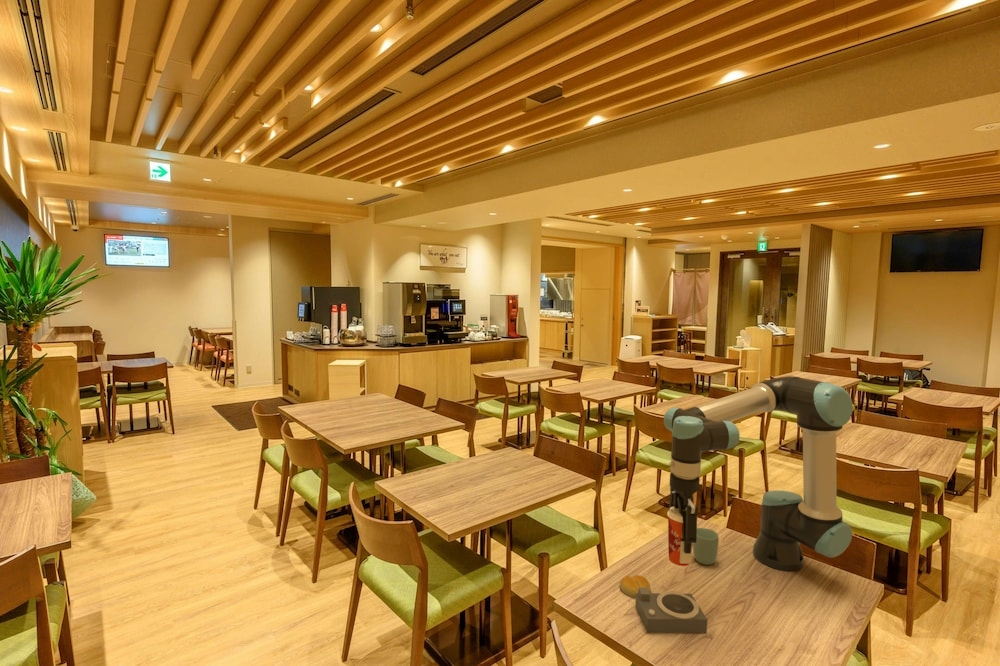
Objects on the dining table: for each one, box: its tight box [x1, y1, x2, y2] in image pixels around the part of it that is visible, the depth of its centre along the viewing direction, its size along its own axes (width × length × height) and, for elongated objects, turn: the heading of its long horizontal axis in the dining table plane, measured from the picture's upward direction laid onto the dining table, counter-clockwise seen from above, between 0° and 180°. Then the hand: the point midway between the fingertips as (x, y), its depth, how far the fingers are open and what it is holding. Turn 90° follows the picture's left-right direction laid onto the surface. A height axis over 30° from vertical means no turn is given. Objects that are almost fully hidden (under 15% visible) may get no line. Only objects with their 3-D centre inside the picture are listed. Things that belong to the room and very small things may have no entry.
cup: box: [692, 527, 720, 566], centre depth 167 cm, size 8×8×10 cm
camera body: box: [634, 588, 708, 634], centre depth 138 cm, size 16×11×6 cm
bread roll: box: [619, 574, 652, 599], centre depth 151 cm, size 8×9×4 cm
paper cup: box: [666, 506, 698, 567], centre depth 136 cm, size 8×8×14 cm
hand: (680, 555), depth 136 cm, fingers closed on paper cup, 7 cm apart
